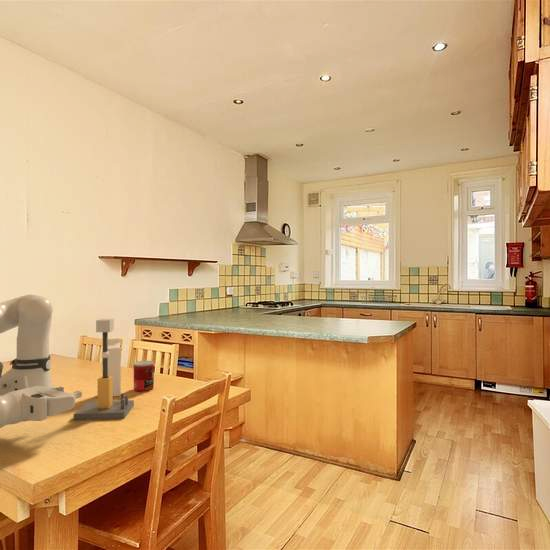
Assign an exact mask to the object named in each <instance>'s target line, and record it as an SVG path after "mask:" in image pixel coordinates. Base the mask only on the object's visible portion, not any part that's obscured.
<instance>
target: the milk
mask: <svg viewBox="0 0 550 550" xmlns="http://www.w3.org/2000/svg"><path fill="white" fill-rule="evenodd" d="M101 350H102V351H103V345H102V349H101ZM102 351H101V352H102ZM121 354H122V353H121V343H120V338H119V337H118V338H117V337H116V338H108V356H109V357H108V376H113V396H114V397H119V396H120V397H121V393H122V392H121V391H122V390H121V389H122V387H121V383H122V381H121V376H122V375H121V370H122V369H121V366H122V365H121V362H122V361H121V360H122V359H121Z"/></svg>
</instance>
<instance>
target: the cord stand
mask: <svg viewBox="0 0 550 550" xmlns="http://www.w3.org/2000/svg"><path fill="white" fill-rule="evenodd" d="M114 320H115V319H114V318H99V319H96V320H95V330H96V331H95V332H96V333H102V346H103V351H101V358H102V376H103V378H108V357H109V356H108V339H109V337H108V336H109V334H108V333H111V332H113V331H114V330H115V326H114V323H115V321H114ZM134 402H135V401H134V400H130V399H129V394H127V395H125V393H123V392H121V395H120V400H113V405H112V406H111V407H110V408H103V409H98V401H87V402H86V403H84V404H83V405H82V406H81V407H80V408H79V409H77V411H76V412H74V413H73V421H83V420H85V421H87V420H86V419H93V420H113V419H114V420H115V419H116V420H117V418H120V419H125V418H126V417H127V416H128V414H129V413H130V412H131V410H132V409H133V407H134V405H135V403H134Z"/></svg>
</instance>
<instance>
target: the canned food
mask: <svg viewBox="0 0 550 550" xmlns="http://www.w3.org/2000/svg"><path fill="white" fill-rule="evenodd" d="M154 367H155V366H154V361H152V360H139V361H136V362H134V363H133V389H134V391H135V392H137V393H144V392H145V391H147V392H149V391H150V390H151V391H153V390H154V386H155V379H154V378H155V372H154V371H155V370H154V369H155V368H154ZM145 393H146V392H145Z"/></svg>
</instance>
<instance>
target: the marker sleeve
mask: <svg viewBox="0 0 550 550" xmlns="http://www.w3.org/2000/svg"><path fill="white" fill-rule="evenodd" d="M96 380H97V402H98V409H103V408H110V407H111V406H112V405H113V401H114V397H113V376H108V378H103V375H101V376H100V377H99V378H97V379H96Z"/></svg>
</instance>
